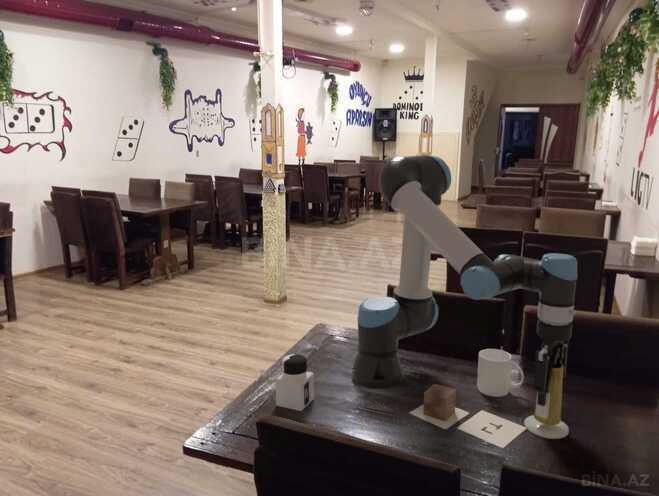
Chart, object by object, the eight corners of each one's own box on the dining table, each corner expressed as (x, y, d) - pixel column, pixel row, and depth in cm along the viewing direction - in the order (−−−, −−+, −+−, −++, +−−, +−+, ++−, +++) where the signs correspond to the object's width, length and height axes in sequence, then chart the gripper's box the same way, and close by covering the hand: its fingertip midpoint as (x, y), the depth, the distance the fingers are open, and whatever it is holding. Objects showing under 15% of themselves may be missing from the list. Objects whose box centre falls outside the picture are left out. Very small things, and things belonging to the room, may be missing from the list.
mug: (521, 402, 137) (523, 365, 135) (475, 394, 142) (476, 358, 140) (523, 388, 145) (525, 353, 143) (479, 381, 150) (481, 346, 148)
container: (314, 398, 140) (314, 354, 138) (301, 412, 133) (300, 365, 131) (289, 393, 144) (288, 349, 141) (275, 406, 137) (274, 360, 134)
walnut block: (423, 414, 131) (424, 392, 130) (433, 404, 136) (434, 383, 135) (445, 421, 128) (446, 399, 127) (454, 411, 133) (455, 389, 131)
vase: (533, 422, 123) (537, 367, 120) (533, 410, 129) (537, 357, 126) (561, 427, 121) (566, 371, 118) (560, 415, 126) (565, 360, 124)
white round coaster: (516, 427, 125) (517, 425, 125) (535, 412, 132) (535, 410, 132) (558, 444, 118) (558, 442, 118) (575, 427, 125) (575, 425, 125)
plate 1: (408, 414, 132) (408, 412, 132) (433, 399, 140) (433, 398, 139) (445, 430, 124) (445, 429, 124) (469, 413, 132) (469, 412, 132)
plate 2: (456, 429, 125) (456, 427, 125) (481, 411, 133) (481, 409, 133) (502, 449, 117) (502, 448, 116) (526, 428, 125) (526, 427, 125)
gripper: (554, 334, 111) (546, 432, 115) (586, 314, 124) (578, 403, 128) (521, 326, 116) (514, 420, 121) (555, 307, 129) (548, 393, 134)
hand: (547, 411), depth 124 cm, fingers closed on vase, 6 cm apart
